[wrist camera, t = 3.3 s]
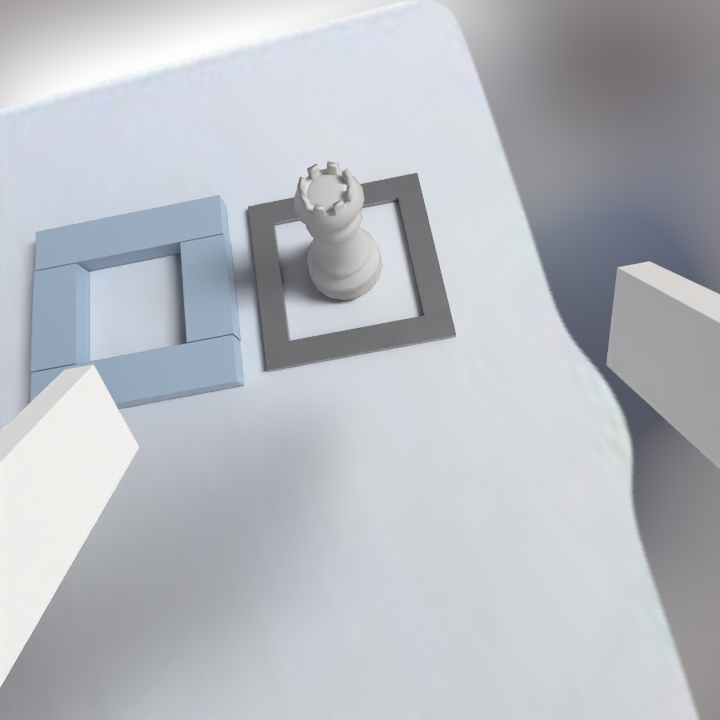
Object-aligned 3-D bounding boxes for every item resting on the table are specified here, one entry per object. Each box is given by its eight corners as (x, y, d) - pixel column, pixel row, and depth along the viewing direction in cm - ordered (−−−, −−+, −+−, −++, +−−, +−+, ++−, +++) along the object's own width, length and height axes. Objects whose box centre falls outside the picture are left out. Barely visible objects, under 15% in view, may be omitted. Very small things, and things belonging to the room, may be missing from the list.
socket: (44, 422, 26) (28, 419, 25) (49, 241, 29) (35, 232, 28) (245, 385, 26) (237, 380, 25) (227, 206, 29) (220, 195, 28)
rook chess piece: (329, 226, 28) (303, 131, 20) (394, 251, 27) (393, 161, 20) (297, 287, 27) (257, 210, 19) (363, 314, 26) (349, 245, 19)
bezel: (268, 371, 26) (266, 370, 26) (249, 209, 29) (248, 206, 29) (455, 336, 25) (456, 335, 25) (416, 176, 28) (417, 173, 28)
